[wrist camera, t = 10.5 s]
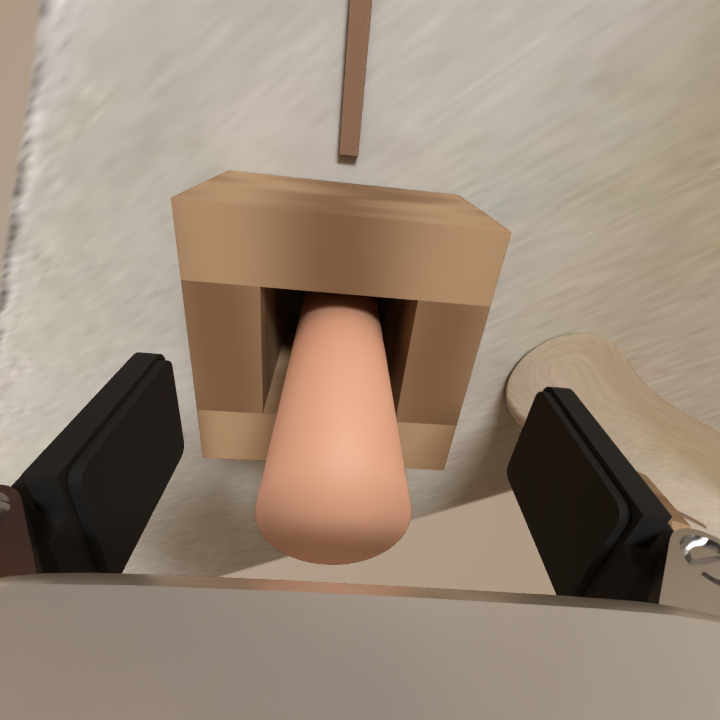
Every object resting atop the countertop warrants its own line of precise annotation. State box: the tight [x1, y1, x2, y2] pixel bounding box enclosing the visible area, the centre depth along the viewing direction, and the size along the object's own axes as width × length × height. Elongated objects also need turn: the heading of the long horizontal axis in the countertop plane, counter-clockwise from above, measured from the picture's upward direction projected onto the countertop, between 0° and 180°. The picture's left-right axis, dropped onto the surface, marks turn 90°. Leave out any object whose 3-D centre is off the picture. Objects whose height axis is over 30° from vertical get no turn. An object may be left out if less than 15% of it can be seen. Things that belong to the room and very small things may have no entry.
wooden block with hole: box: [171, 171, 512, 470], centre depth 16 cm, size 9×9×6 cm
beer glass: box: [506, 333, 720, 539], centre depth 15 cm, size 7×7×15 cm
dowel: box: [255, 291, 411, 565], centre depth 13 cm, size 3×3×12 cm
